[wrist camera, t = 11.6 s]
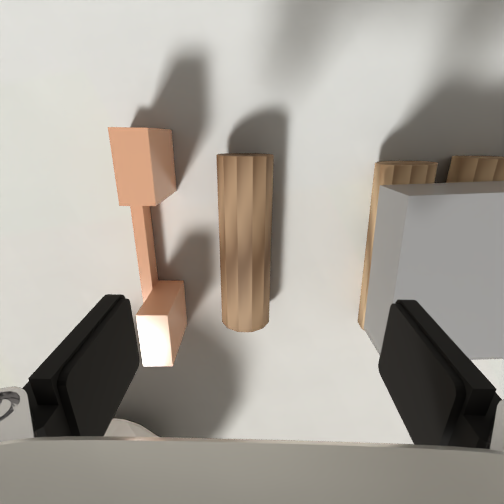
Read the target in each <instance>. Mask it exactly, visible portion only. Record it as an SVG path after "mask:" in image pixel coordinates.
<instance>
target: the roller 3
mask: <svg viewBox="0 0 504 504" xmlns="http://www.w3.org/2000/svg"><path fill="white" fill-rule="evenodd" d="M480 181H504V157H500V156H452V159H451V163H450V168H449V172H448V176H447V181H446V183H452V182H480Z"/></svg>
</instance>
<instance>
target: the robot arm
mask: <svg viewBox="0 0 504 504" xmlns="http://www.w3.org/2000/svg"><path fill="white" fill-rule="evenodd" d="M138 366H139V353H138V347H137V341H136V335H135V329H134V323H133V317H132V311H131V305H130V301H129V299H125V297H124V295H110V294H108V295H105V296H104V297H103V298H102V299H101V300H100V301H99V302H98V303H97V304H96V305H95V307H94V308H93V309H92V310H91V311H90V312H89V313H88V314H87V315H86V316H85V317H84V319H83V320H82V321H81V322H80V323H79V324H78V325H77V326H76V327H75V328H74V329H73V330H72V332H71V333H70V334H69V335H68V336H67V337H66V338H65V339H64V340H63V341H62V342H61V344H60V345H59V346H58V347H57V348H56V349H55V350H54V351H53V352H52V353H51V354H50V356H49V357H48V358H47V359H46V360H45V361H44V362H43V363H42V364H41V365H40V366H39V367H38V369H37V370H36V371H35V372H34V373H33V374H32V375H31V376H30V377H29V378H28V379H29V382H28V383H27V384H26V385H25V386H24V387H23V388H20V387H6V388H1V389H0V504H504V399H503V400H502V399H501V398H500V397H499V396H498V395H497V394H496V392H495V391H496V388H495V387H494V386H493V385H492V384H491V383H490V381H489V380H488V379H487V378H486V377H485V376H484V375H483V374H482V373H481V371H480V370H479V369H478V368H477V367H476V366H475V365H474V364H473V363H472V361H471V360H470V359H469V358H468V357H467V356H466V355H465V354H464V353H463V352H462V350H461V349H460V348H459V347H458V346H457V345H456V344H455V343H454V342H453V340H452V339H451V338H450V337H449V336H448V335H447V334H446V333H445V332H444V330H443V329H442V328H441V327H440V326H439V325H438V324H437V323H436V322H435V321H434V319H433V318H432V317H431V316H430V315H429V314H428V313H427V312H426V311H425V309H424V308H423V307H422V306H421V305H420V304H419V303H418V302H417V301H416V300H399V299H398V300H397V301H396V302H395V303H393V304H391V306H390V310H389V315H388V320H387V325H386V329H385V334H384V339H383V344H382V349H381V354H380V359H379V364H378V367H379V372H380V375H381V377H382V379H383V381H384V383H385V385H386V387H387V389H388V391H389V393H390V396H391V398H392V400H393V402H394V404H395V406H396V408H397V410H398V412H399V414H400V416H401V418H402V420H403V422H404V424H405V426H406V428H407V430H408V432H409V435H410V437H411V439H412V441H413V443H414V444H392V443H360V442H329V441H295V440H258V439H218V438H171V437H117V436H104V435H105V433H106V431H107V429H108V427H109V425H110V423H111V421H112V419H113V417H114V415H115V413H116V411H117V409H118V407H119V405H120V403H121V401H122V399H123V397H124V395H125V393H126V391H127V389H128V387H129V385H130V383H131V381H132V379H133V377H134V375H135V373H136V371H137V369H138Z"/></svg>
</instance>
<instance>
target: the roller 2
mask: <svg viewBox="0 0 504 504" xmlns="http://www.w3.org/2000/svg"><path fill="white" fill-rule="evenodd" d="M437 165H438V163H436V162H429V161H382V162H376V163H375V170H374V179H373V188H372V197H371V206H370V215H369V224H368V233H367V242H366V251H365V260H364V269H363V278H362V287H361V296H360V305H359V314H358V323H359V325H360V327H361V328H362V329H363V330H364V321H365V312H366V304H367V295H368V286H369V277H370V268H371V259H372V250H373V241H374V232H375V223H376V214H377V205H378V197H379V188H380V185H397V184H425V183H434V182H435V177H436V171H437Z"/></svg>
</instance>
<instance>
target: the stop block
mask: <svg viewBox="0 0 504 504" xmlns="http://www.w3.org/2000/svg"><path fill="white" fill-rule="evenodd" d="M108 132H109V138H110V145H111V152H112V158H113V165H114V172H115V179H116V185H117V192H118V199H119V206H130V207H131V215H132V222H133V229H134V237H135V244H136V252H137V259H138V266H139V274H140V281H141V288H142V296H143V305H142V306H141V308H140V310H139V311H138V313H137V314H136V320H137V327H138V334H139V340H140V347H141V354H142V361H143V366H173V364H174V362H175V359H176V356H177V353H178V350H179V347H180V344H181V341H182V338H183V335H184V332H185V329H186V326H187V314H186V302H185V289H184V281H170V280H158V274H157V265H156V256H155V247H154V238H153V229H152V221H151V212H150V206H157V205H158V204H159V203H161V202H162V201H163V200H165V199H166V198H167V197H169V196H170V195H172V194H173V193H174V192H176V191H177V190H176V177H175V165H174V152H173V140H172V130H171V129H158V128H127V127H108Z"/></svg>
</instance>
